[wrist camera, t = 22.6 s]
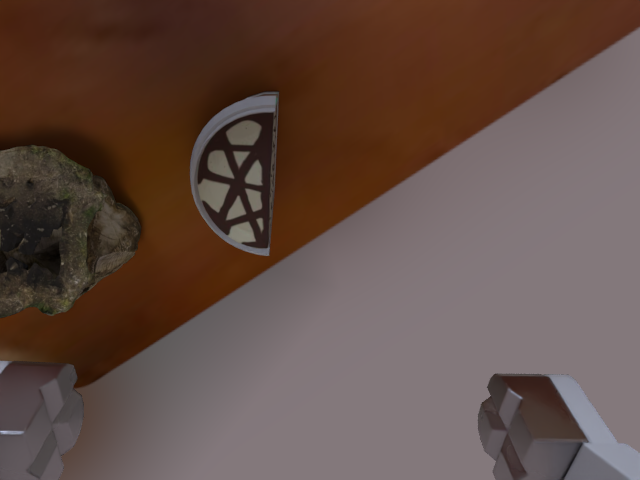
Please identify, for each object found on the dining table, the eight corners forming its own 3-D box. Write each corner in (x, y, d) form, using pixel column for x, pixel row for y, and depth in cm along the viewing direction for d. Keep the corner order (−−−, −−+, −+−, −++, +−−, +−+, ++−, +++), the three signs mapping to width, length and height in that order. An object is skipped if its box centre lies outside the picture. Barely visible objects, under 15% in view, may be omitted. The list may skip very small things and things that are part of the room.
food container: (205, 66, 40) (179, 95, 31) (279, 72, 40) (275, 102, 32) (208, 202, 46) (188, 257, 37) (273, 206, 46) (268, 261, 38)
